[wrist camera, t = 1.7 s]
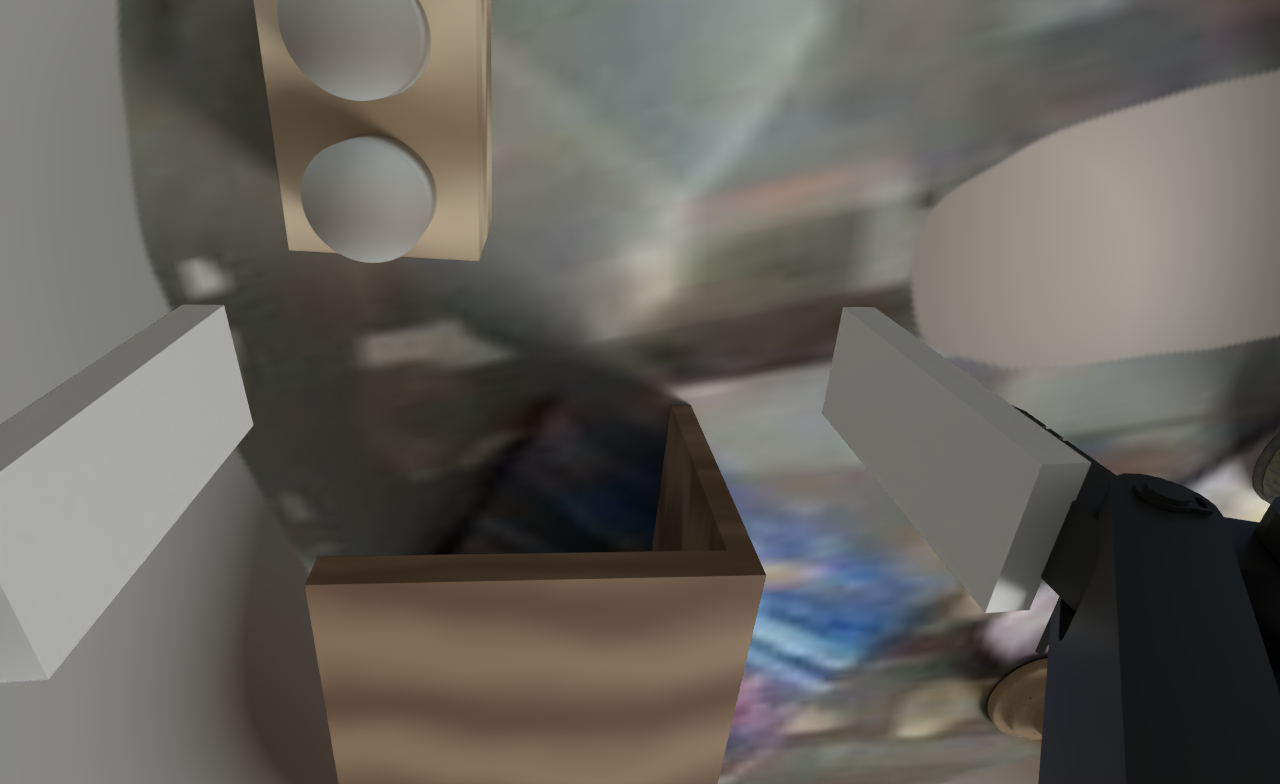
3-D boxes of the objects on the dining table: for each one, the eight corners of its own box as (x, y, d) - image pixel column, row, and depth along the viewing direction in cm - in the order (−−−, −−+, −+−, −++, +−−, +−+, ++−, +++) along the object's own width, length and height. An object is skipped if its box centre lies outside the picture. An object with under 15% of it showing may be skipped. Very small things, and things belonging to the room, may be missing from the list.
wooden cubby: (390, 398, 36) (304, 585, 23) (690, 405, 38) (766, 575, 25) (406, 591, 42) (345, 825, 29) (664, 585, 44) (714, 796, 32)
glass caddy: (317, -35, 27) (206, -86, 18) (491, -13, 28) (467, -51, 19) (343, 211, 31) (263, 268, 22) (492, 221, 32) (473, 279, 23)
